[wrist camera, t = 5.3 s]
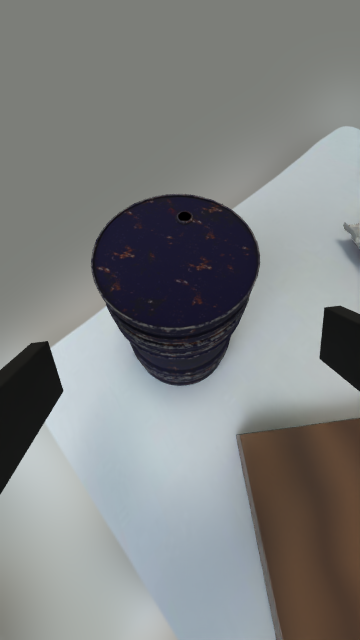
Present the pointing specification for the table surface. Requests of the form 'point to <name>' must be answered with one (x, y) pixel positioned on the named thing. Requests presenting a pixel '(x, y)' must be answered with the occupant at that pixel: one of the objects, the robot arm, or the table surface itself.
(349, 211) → the table surface
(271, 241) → the table surface
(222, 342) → the navy ribbed canister
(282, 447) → the board
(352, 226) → the packaged food
